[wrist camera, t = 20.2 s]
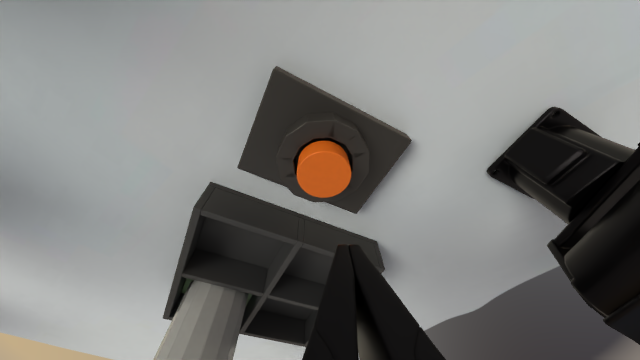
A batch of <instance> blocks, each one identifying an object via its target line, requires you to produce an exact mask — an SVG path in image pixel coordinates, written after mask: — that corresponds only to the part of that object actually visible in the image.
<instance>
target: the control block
mask: <svg viewBox="0 0 640 360" xmlns="http://www.w3.org/2000/svg"><path fill="white" fill-rule="evenodd" d="M317 141H331V142H334V143H336V144H338V145H339V146H341V147H342V148H343V149H344V151H345V152H346V154H347V156H348V160H349V164H350V167H351V180H350V182H349V184H348V186H347V187H346V188H345V189H344V190H343V191H342V192H341V193H339V194H337V195H335V196H332V197H327V198H319V197H315V196H312V195H310V194H308V193H306V192H305V191H304V190H303V189H302V188H301V187H300V185H299V183H298V180H297V167H298V159H299V156H300V154H301V152H302V151H303V149H304V148H305V147H306V146H308V145H309V144H311V143H313V142H317ZM411 141H412V140H411V139H410V138H409V137H408V136H407V134H405V133H403V132H401V131H399V130H397V129H396V128H394V127H392V126H390V125H388V124H386V123H384V122H382V121H380V120H378V119H376V118H375V117H373V116H371V115H369V114H367V113H365V112H363V111H361V110H359V109H357V108H355V107H354V106H352V105H350V104H348V103H346V102H344V101H342V100H340V99H338V98H336V97H335V96H333V95H331V94H329V93H327V92H325V91H323V90H321V89H319V88H317V87H315V86H314V85H312V84H310V83H308V82H306V81H304V80H302V79H300V78H298V77H296V76H294V75H293V74H291V73H289V72H287V71H285V70H283V69H281V68H279V67H277V66H276V67H275V68H274V69H273V71H272V74H271V77H270V79H269V82H268V85H267V88H266V90H265V93H264V96H263V99H262V101H261V104H260V107H259V110H258V112H257V115H256V118H255V121H254V123H253V126H252V129H251V132H250V134H249V137H248V140H247V143H246V145H245V148H244V151H243V154H242V156H241V159H240V162H239V165H238V168H239V169H241V170H244V171H247V172H249V173H252V174H254V175H257V176H260V177H262V178H265V179H267V180H270V181H272V182H275V183H278V184H280V185H283V186H285V187H287V188H288V189H289V190H290V191H291V192H292V193H293V194H294V195H296V196H299V197H301V198H304V199H307V200H309V201H312V202H327V203H329V204H332V205H335V206H337V207H340V208H342V209H345V210H348V211H350V212H353V213H355V214H356V213H357V212H358V211H359V210H360V208H361V207H362V206H363V204H364V203H365V202H366V200H367V199H368V198H369V196H370V195H371V194H372V192H373V191H374V190H375V189H376V187H377V186H378V185H379V183H380V182H381V181H382V179H383V178H384V177H385V175H386V174H387V173H388V171H389V170H390V169H391V167H392V166H393V165H394V164H395V162H396V161H397V160H398V158H399V157H400V156H401V154H402V153H403V152H404V150H405V149H406V148H407V146H408V145H409V144H410V143H411Z"/></svg>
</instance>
